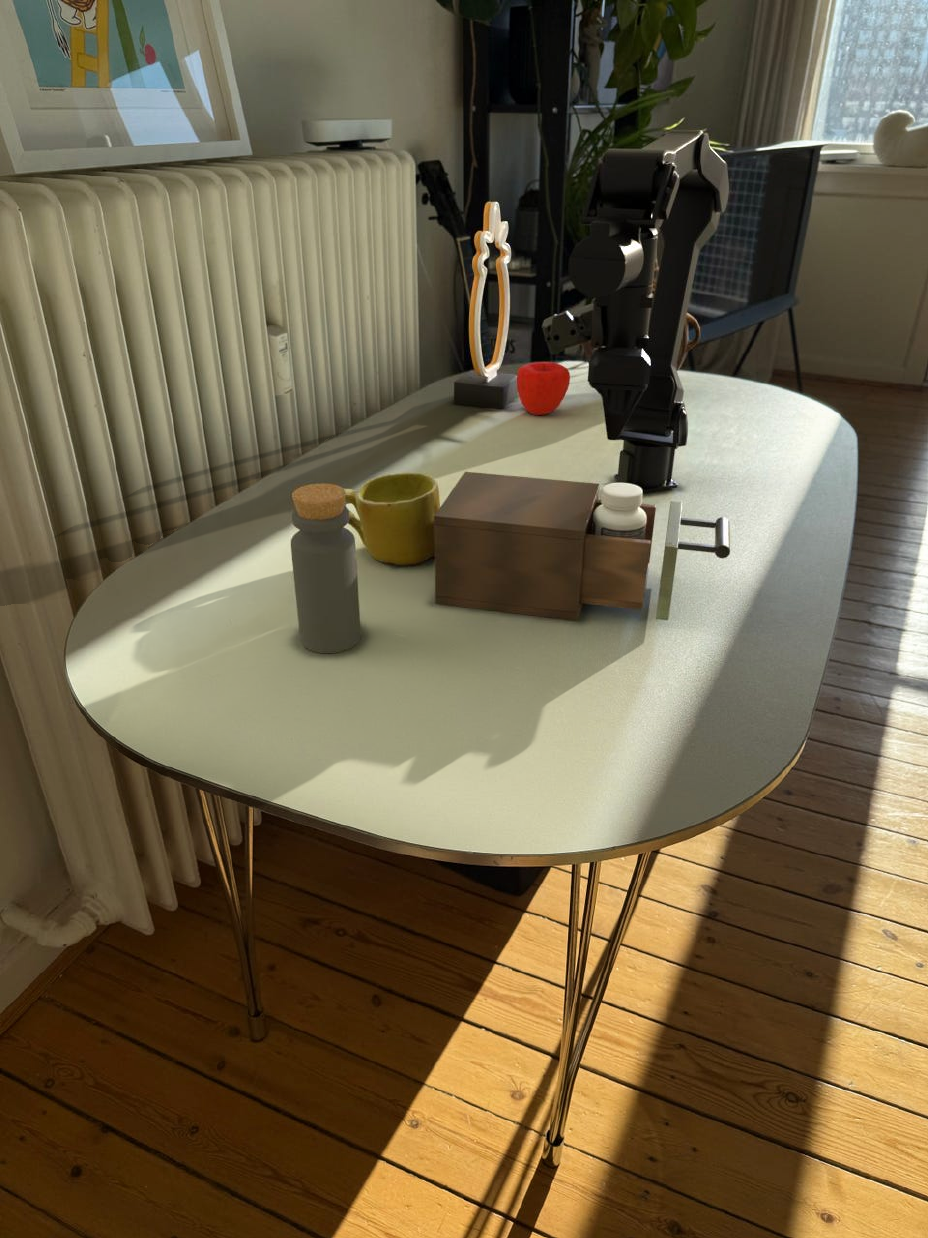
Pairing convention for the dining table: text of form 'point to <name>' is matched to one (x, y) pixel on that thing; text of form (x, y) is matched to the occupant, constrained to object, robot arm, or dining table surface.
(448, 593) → the cabinet
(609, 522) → the pill bottle
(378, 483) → the mug
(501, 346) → the white statuette
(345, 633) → the bottle
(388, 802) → the dining table surface
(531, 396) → the apple
